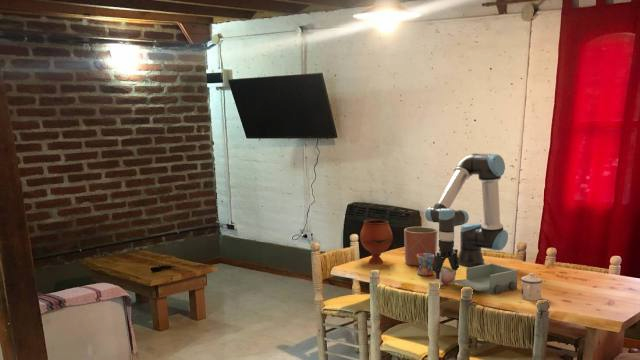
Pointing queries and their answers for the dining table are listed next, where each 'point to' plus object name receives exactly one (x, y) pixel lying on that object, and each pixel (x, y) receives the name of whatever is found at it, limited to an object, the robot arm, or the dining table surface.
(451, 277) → the decorative fruit
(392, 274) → the dining table surface
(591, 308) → the dining table surface
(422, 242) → the planter
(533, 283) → the teacup with lid
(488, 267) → the truck bed
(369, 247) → the goblet
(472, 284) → the tailgate
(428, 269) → the mug
